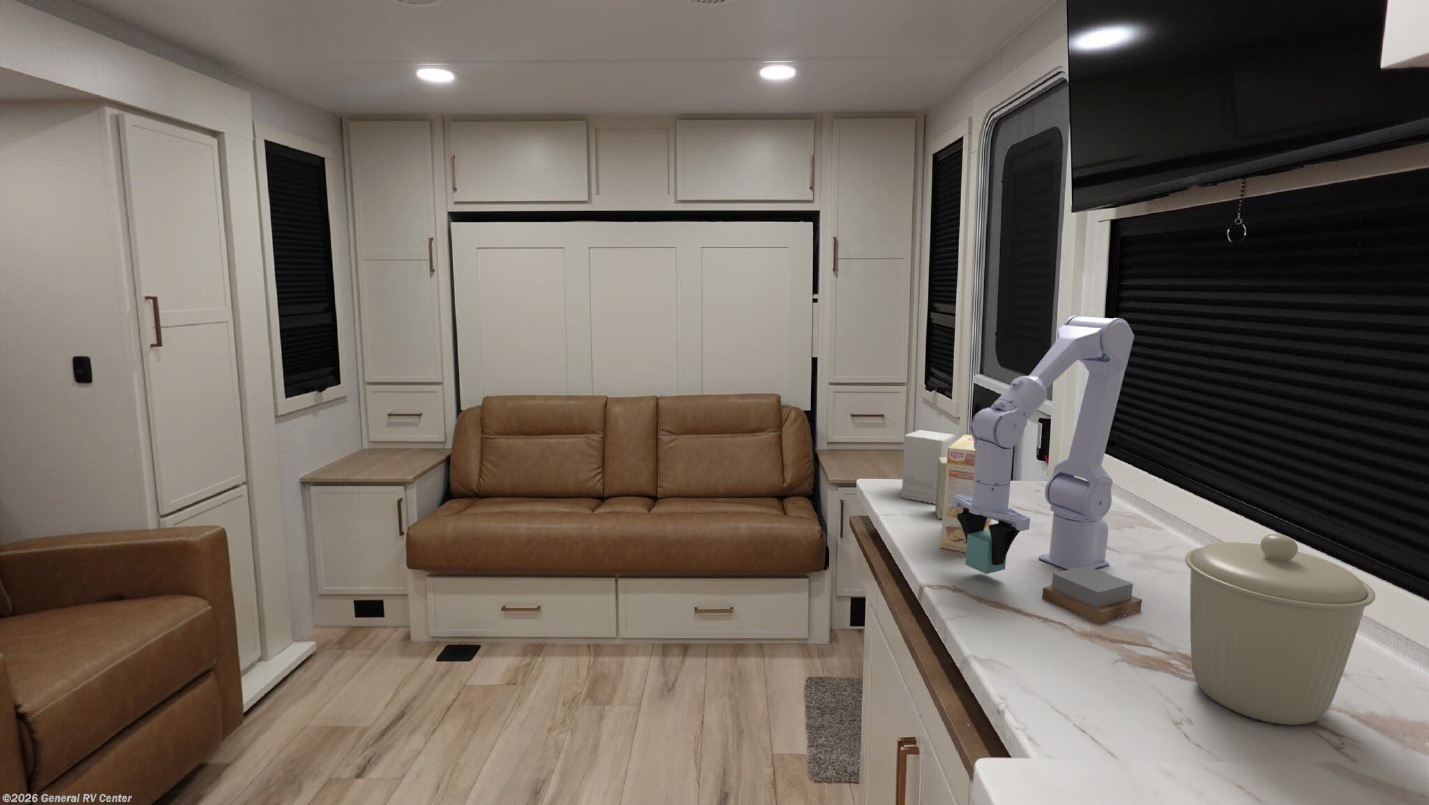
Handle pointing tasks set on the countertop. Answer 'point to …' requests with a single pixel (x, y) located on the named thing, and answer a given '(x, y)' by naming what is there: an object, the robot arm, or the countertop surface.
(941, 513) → the skincare box
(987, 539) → the teal block
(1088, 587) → the gray square slab
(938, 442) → the supplement box
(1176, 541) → the countertop surface
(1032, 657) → the countertop surface
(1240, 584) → the canister
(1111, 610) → the walnut slab
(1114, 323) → the robot arm
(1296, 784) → the countertop surface
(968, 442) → the coffeecake box
